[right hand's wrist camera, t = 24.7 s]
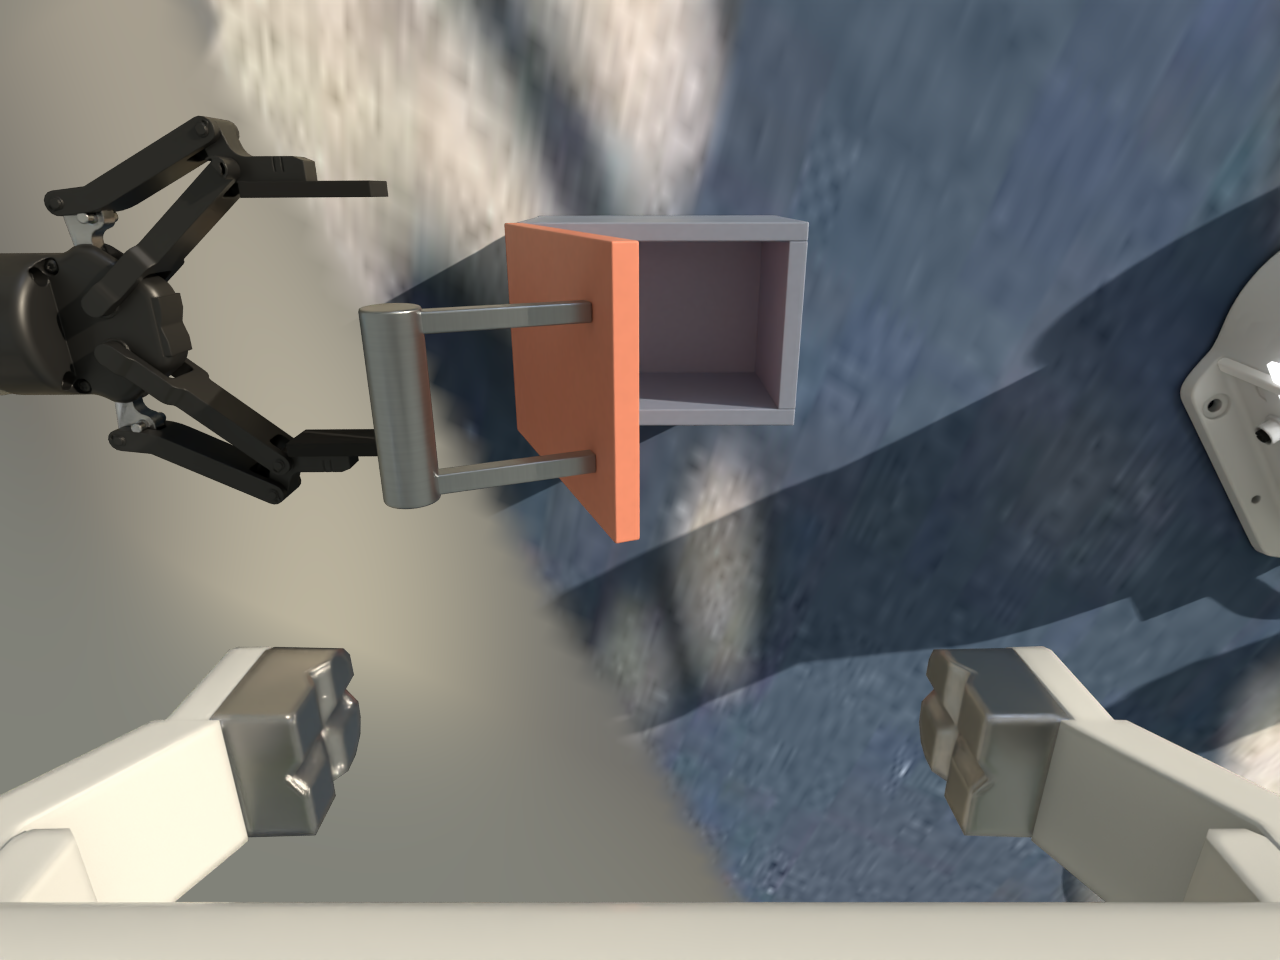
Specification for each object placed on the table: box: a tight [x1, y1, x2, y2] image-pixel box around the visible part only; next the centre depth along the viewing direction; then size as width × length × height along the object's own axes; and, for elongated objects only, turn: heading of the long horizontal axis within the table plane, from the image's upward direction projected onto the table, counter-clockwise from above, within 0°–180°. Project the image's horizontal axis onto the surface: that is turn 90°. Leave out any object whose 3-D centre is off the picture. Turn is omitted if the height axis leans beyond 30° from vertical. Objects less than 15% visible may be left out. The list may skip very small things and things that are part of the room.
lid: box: [358, 223, 639, 543], centre depth 30 cm, size 15×10×8 cm
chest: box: [517, 215, 809, 425], centre depth 42 cm, size 14×10×10 cm
